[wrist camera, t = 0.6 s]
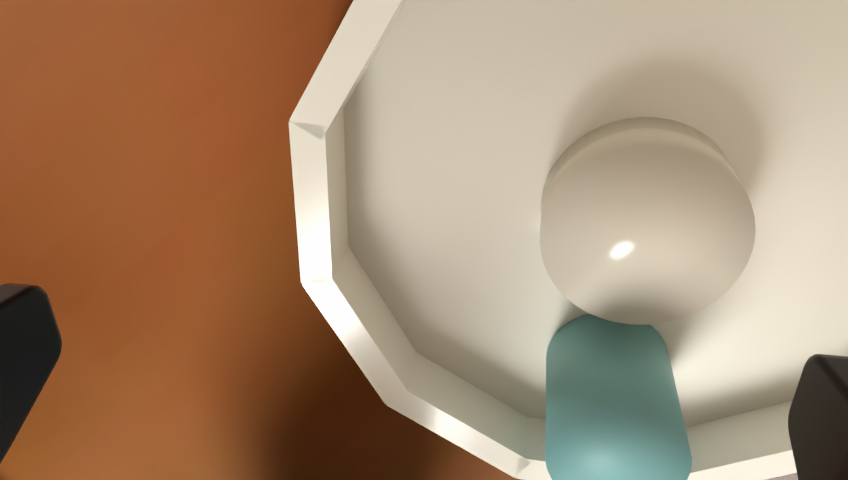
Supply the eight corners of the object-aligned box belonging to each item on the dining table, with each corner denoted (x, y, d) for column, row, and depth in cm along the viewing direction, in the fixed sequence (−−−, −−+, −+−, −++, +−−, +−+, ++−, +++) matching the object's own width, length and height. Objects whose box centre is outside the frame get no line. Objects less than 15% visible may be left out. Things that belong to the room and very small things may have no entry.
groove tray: (868, 465, 26) (903, 536, 23) (330, 396, 28) (308, 453, 25) (1180, -177, 15) (1306, -179, 13) (297, -198, 18) (254, -203, 15)
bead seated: (656, 411, 24) (675, 519, 21) (540, 397, 25) (538, 500, 21) (679, 318, 22) (706, 419, 19) (553, 305, 23) (553, 400, 19)
